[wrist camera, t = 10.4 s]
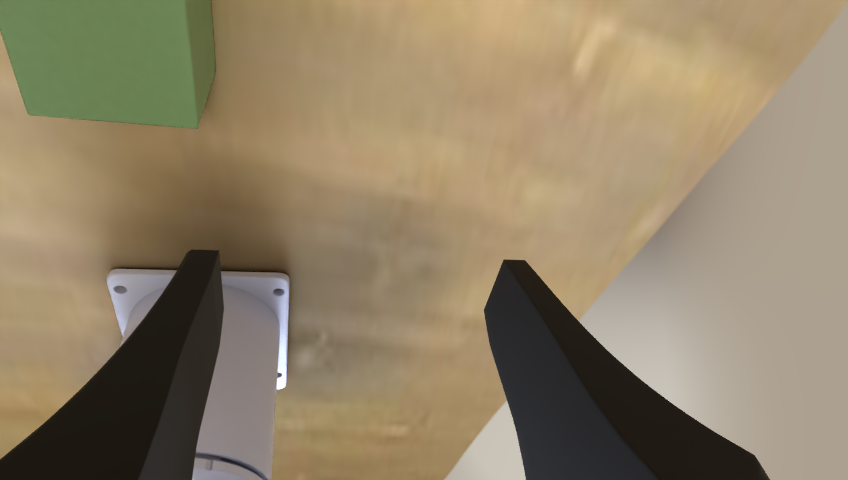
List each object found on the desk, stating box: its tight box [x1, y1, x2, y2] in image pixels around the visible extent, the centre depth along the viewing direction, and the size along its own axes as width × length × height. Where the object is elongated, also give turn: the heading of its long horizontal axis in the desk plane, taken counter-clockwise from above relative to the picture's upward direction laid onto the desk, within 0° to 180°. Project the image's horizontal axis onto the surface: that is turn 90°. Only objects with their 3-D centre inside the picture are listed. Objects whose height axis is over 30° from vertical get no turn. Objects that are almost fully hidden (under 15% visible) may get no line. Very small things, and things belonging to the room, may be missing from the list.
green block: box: [0, 0, 216, 129], centre depth 15 cm, size 4×4×4 cm
